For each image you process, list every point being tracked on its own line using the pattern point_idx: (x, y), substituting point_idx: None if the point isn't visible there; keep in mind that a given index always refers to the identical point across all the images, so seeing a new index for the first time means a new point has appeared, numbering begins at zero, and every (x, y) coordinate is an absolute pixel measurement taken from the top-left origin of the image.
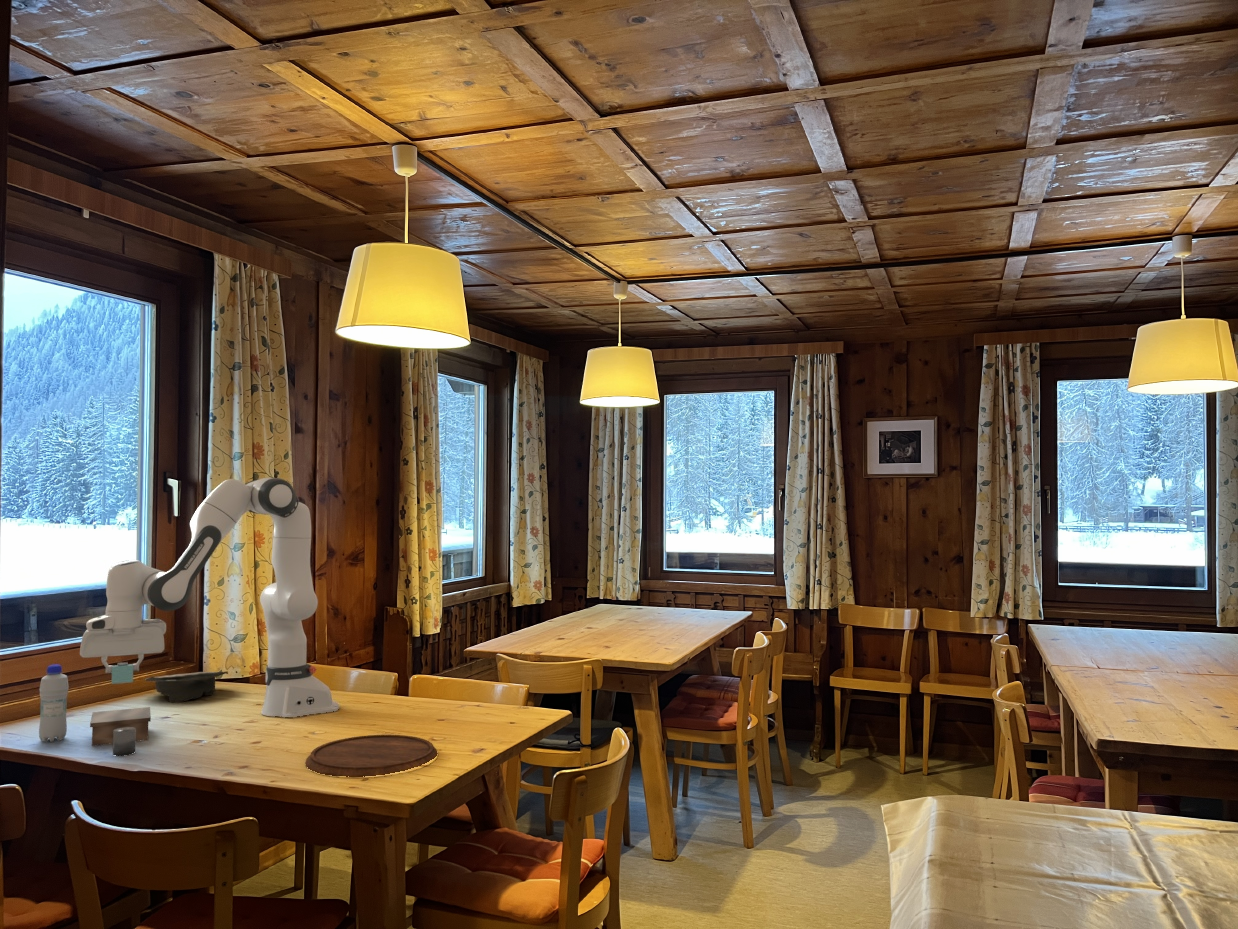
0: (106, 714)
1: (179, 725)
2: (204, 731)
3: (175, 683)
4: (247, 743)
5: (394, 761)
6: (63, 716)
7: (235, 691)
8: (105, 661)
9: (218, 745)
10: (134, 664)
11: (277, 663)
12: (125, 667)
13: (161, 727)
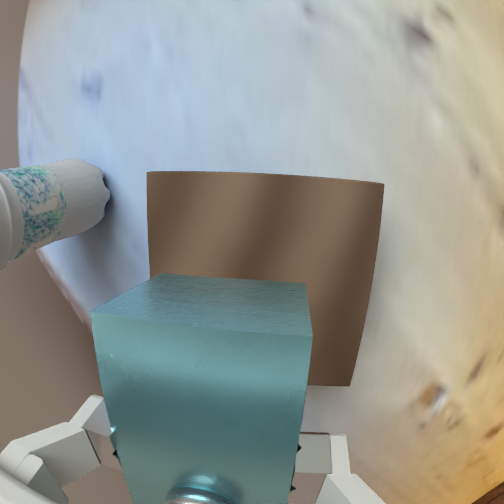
0: (199, 251)
1: (451, 185)
2: (480, 307)
3: None
4: (481, 434)
5: None
6: (66, 227)
7: None
8: (59, 478)
9: (443, 435)
10: (302, 494)
11: None
12: None
13: (400, 180)
